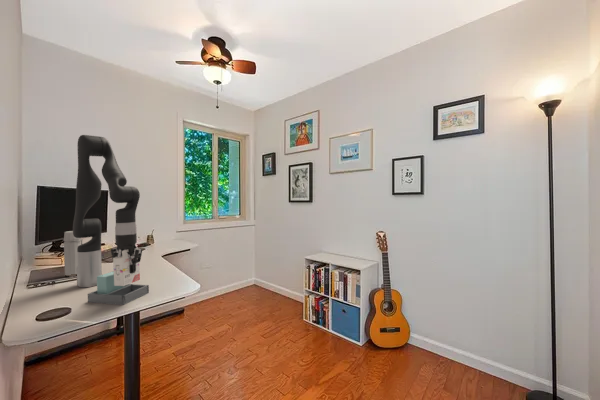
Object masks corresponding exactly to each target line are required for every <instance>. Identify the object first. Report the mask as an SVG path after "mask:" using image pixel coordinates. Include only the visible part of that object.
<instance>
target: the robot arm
mask: <svg viewBox="0 0 600 400" xmlns="http://www.w3.org/2000/svg"><path fill="white" fill-rule="evenodd" d="M90 157H103V158H104V160H105V161H104V163H103V165H102V167H101V176H102V177H103V179H104V180H105V182H106V184H107V187H108V192H109V199H110V200H111V201H112V202H113V203H116V204H126V205H125V206H124V207H122V208H118V209H116V210H115V228H114V229H115V231H114V232H115V233H114V234H115V239H114V240H115V245H116V246H117V247H115V248H111V249H110V253H111V257H112V259H113V258H115V257H120V256H122V251H123V250H127V249H128V251H129V252H127V254H128V260H129V263H130V273H135V271H136V263H138V262H139V263H140V262H141V259H142V254H143V248H138V249H137V248H136V247H137V246H136V244H137V241H138V239H137V238H138V235H137V224H136V212H137V208H138V204H139V201H140V196H141V195H140V190H139V189H138V188H137V187H135V186H126V185H127V182H128V180H127V178H126V176H125V174H124V173H123V171H122V170H121V168H120V166H119V165H118V162H117V159H116V155H115V153H114V150H113V148H112V146H111V143H110V141H109V140H108V138H106V137H104V136H97V135H90V134H89V135H88V134H81V135H80V136H79V137H78V140H77V175H76V176H77V177H76V178H77V179H76V185H75V187H76V188H75V189H76V190H75V210H74V217H73V222H72V231H73V235H74V237H76V238H81V239H85V238H91V239H90V240H88V241H87V242H85V243H82V245H81V244H80V245H79V246H78V248H77V252H78V267H77V276H76V286H77V287H79V288H90V287H94V286H95V287H96V286H97V276H100V275H103V273H102V272H103V271H102V222H101V221H102V220H101V219H99V218H85V217H86V214H87V213H88V211H89V210H90V209H91V208H92V207H93V206H94V205H95V204H96V203H97V202H98V201H99V199H100V198H101V196H102V195H101V194H102V185H103V183H102V181H101V179H100V178H99V176H98V174H97V173H96V172H95V171H94V169H93V168H92V165H91V161H90ZM133 254H134V256H133V257H130V256H132V255H133ZM137 258H138V259H137ZM132 259H133V261H132Z"/></svg>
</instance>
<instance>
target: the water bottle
mask: <svg viewBox="0 0 600 400" xmlns="http://www.w3.org/2000/svg"><path fill="white" fill-rule="evenodd" d="M83 239H84V238H76V237H74V235H73V230H69V231H64V236H63V255H64V256H63V257H64V258H63V259H64V261H63V262H64V276H65V275H71V274H77V267H78V252H77V248H78V246H79V245H82V244H83Z"/></svg>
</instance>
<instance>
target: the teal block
mask: <svg viewBox="0 0 600 400" xmlns="http://www.w3.org/2000/svg"><path fill="white" fill-rule="evenodd" d="M123 287H124V286H114V270H113V271H110V272H107V273H104V274H103V273H102V275H100V276H97V285H96V288H97V289H96V291H97V294H108V293H111V292H113V291H116V290H118V289H121V288H123Z"/></svg>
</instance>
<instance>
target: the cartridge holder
mask: <svg viewBox="0 0 600 400" xmlns="http://www.w3.org/2000/svg"><path fill="white" fill-rule="evenodd" d="M149 291H150V286H149V284H135V283H134V284H133V283H130V284H128V285H125V286H124V287H123V288H121V289H118V290H116V291H113V292H111V293H108V294H97V290H95V291H92V292H88V293H87V303H97V304H107V305H120V306H124V305H127V304H128V303H131V302H132V301H136V300H137V299H140V298H141V297H143V296H145V295H148V294H149Z"/></svg>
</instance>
